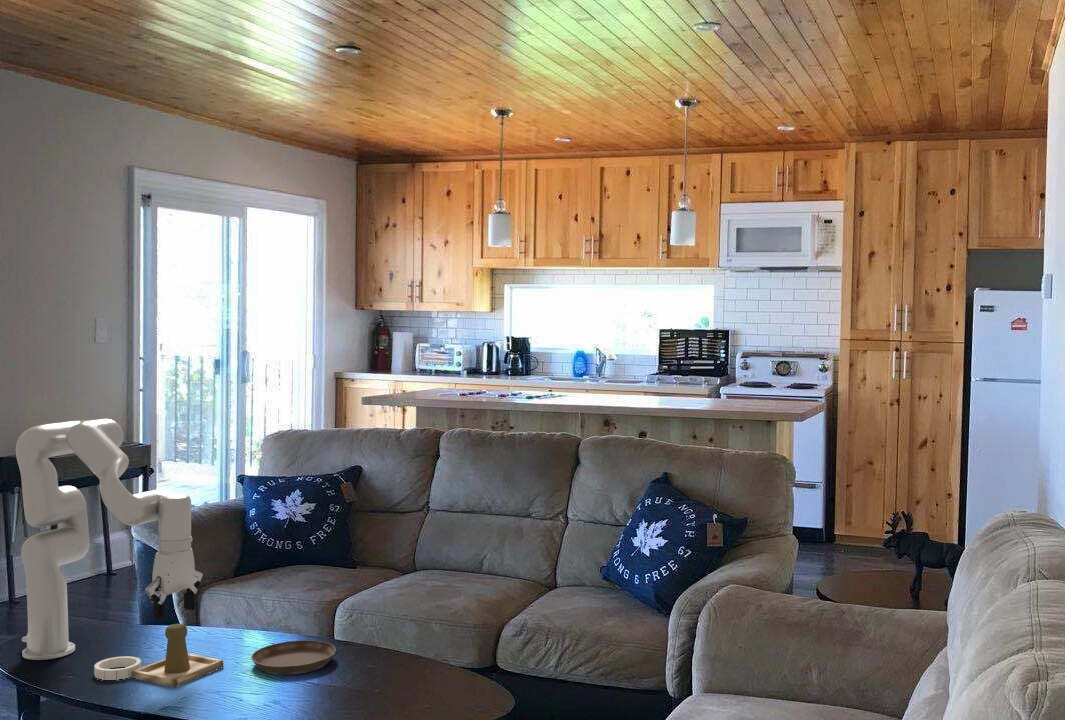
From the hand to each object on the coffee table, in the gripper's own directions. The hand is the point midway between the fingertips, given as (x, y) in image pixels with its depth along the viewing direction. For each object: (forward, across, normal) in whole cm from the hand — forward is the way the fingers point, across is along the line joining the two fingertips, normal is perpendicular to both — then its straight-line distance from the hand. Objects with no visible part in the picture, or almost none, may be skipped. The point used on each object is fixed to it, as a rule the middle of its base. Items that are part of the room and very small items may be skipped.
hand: (174, 614), depth 266 cm
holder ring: (+15, +7, -12) cm, 20 cm away
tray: (+14, 0, +1) cm, 14 cm away
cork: (+14, 0, +1) cm, 14 cm away
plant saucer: (+14, -18, +22) cm, 32 cm away
